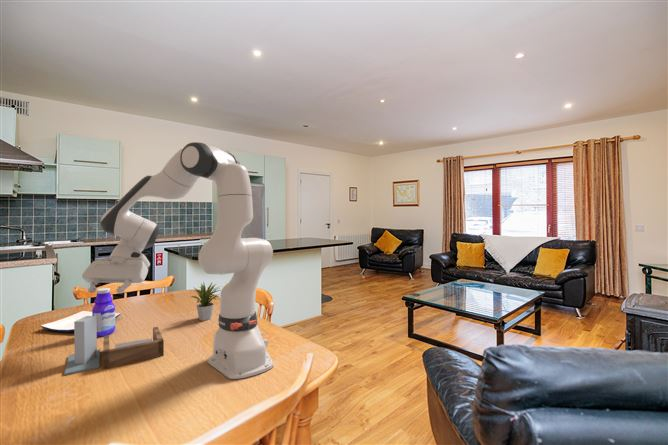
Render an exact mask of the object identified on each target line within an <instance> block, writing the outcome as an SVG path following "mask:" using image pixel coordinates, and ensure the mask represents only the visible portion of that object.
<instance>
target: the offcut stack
mask: <svg viewBox="0 0 668 445" xmlns="http://www.w3.org/2000/svg"><path fill="white" fill-rule="evenodd" d="M150 341H153V337H152V338H146V339H139V340H134V341H127V342H122V343H120V342H119V343H115V346H114V348H113V349H115V348H120V347H125V346H130V345H135V344H140V343H145V342H150Z"/></svg>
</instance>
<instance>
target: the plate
mask: <svg viewBox="0 0 668 445" xmlns="http://www.w3.org/2000/svg"><path fill="white" fill-rule="evenodd" d="M120 315H122V313H121V312H115V319H117V318H119V316H120ZM86 316H92V311H88V310H87V311H86V310H82V311H79V312H77V313H74V314H72V315H69V316H68V317H64V318H61V319H58V320H56V321H55V320H54V321H52V322H47V323H44V324H40V328H43V329H45V330H48V331H53V332H61V333H62V332H63V333H74V321H77V320H79V319H81V318H84V317H86Z"/></svg>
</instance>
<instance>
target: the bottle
mask: <svg viewBox="0 0 668 445" xmlns="http://www.w3.org/2000/svg"><path fill="white" fill-rule="evenodd" d="M113 300H114V299H113V297H112V295H111V288H110V287H103V288H101V287H100V288H97V290H96V297H95V299H94V301H93V303H94V305H93V306H92V307H93V308H92V310H91V312H92V316H96V321H97V337H101V338H102V337H104V336H107V335H110V334H113V333H114V332H115V330H116V318H115V313H116V305H115V304H114V302H113Z"/></svg>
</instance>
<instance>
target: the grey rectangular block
mask: <svg viewBox="0 0 668 445" xmlns="http://www.w3.org/2000/svg"><path fill="white" fill-rule="evenodd" d="M73 333H74V337H73V338H74V343H73V344H74V354H75V364H85V363H87V362H88V361H90V360H91V359H93V358H95V357H96V356H97V350H98V344H97V342H98V341H97V339H98V338H97V337H98V336H97V321H96V316H86V317H84V318H81V319H79V320H77V321H74V332H73Z"/></svg>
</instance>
